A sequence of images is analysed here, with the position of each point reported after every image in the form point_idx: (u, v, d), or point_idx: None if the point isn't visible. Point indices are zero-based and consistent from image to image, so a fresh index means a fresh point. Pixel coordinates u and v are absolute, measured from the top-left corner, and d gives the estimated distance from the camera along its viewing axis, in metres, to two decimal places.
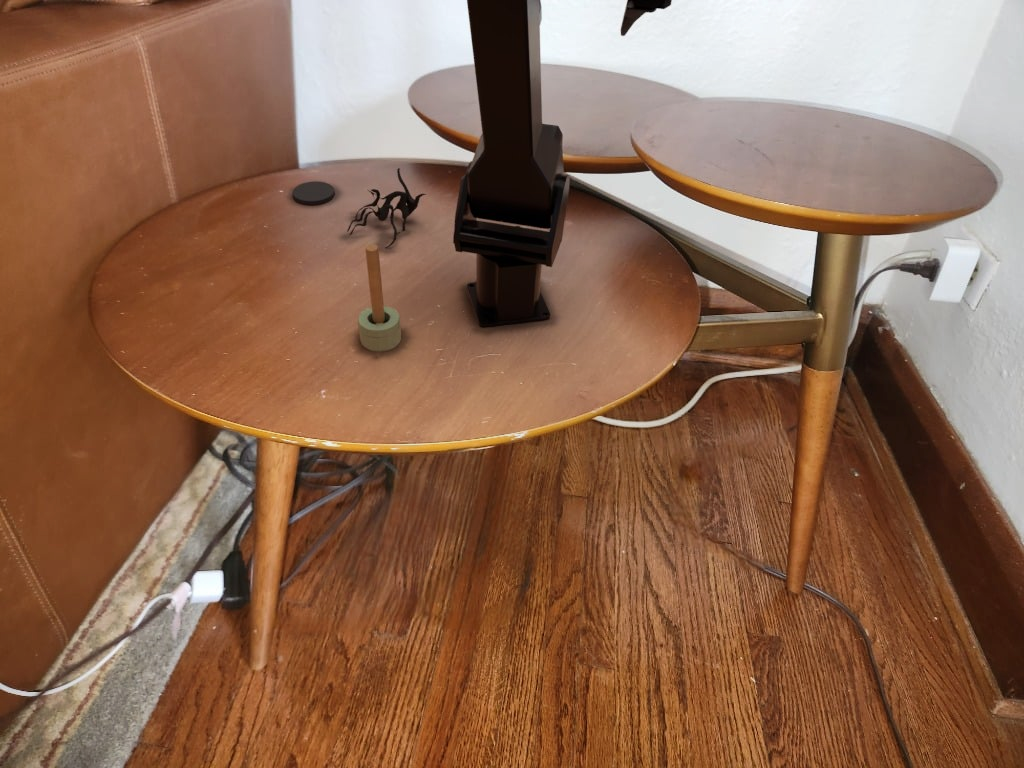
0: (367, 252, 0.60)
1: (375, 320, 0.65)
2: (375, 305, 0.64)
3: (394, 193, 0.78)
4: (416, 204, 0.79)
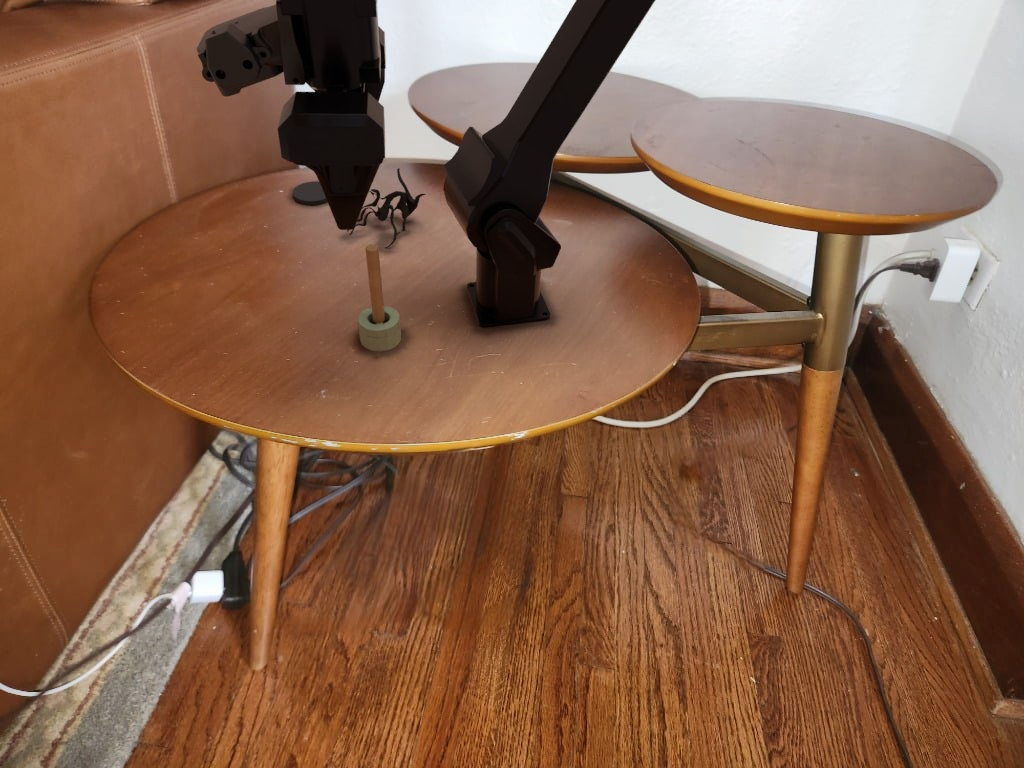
0: (367, 252, 0.60)
1: (375, 320, 0.65)
2: (375, 305, 0.64)
3: (394, 192, 0.78)
4: (416, 204, 0.79)
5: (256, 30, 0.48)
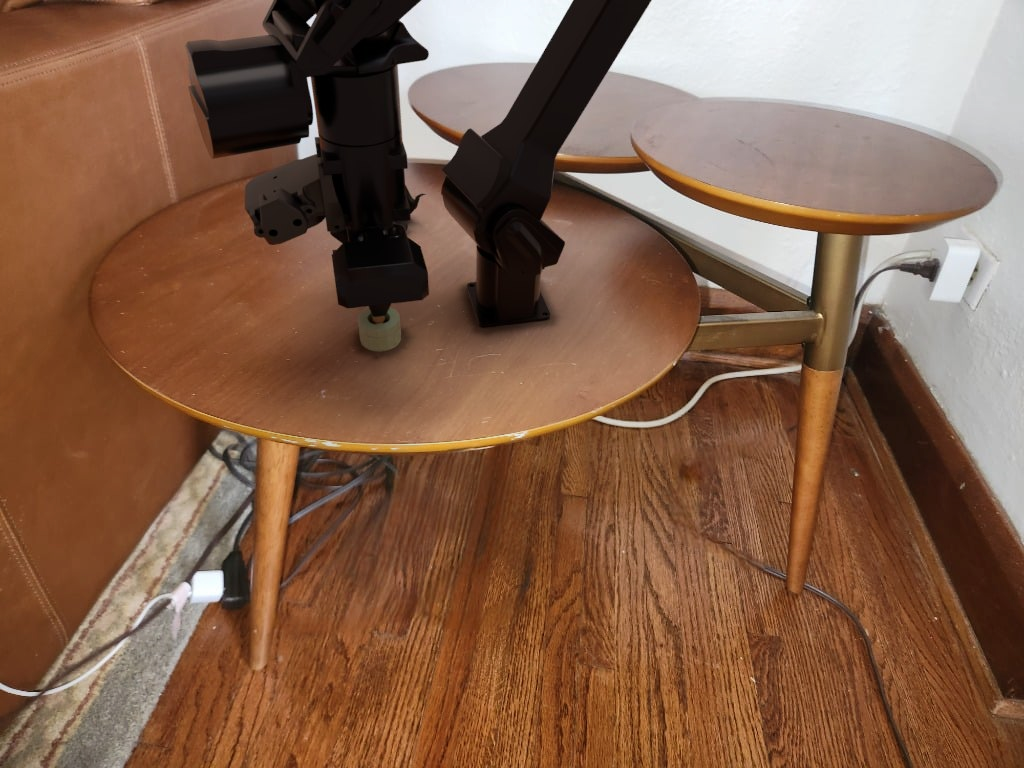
0: None
1: (375, 320, 0.65)
2: None
3: None
4: (416, 204, 0.79)
5: (301, 189, 0.53)
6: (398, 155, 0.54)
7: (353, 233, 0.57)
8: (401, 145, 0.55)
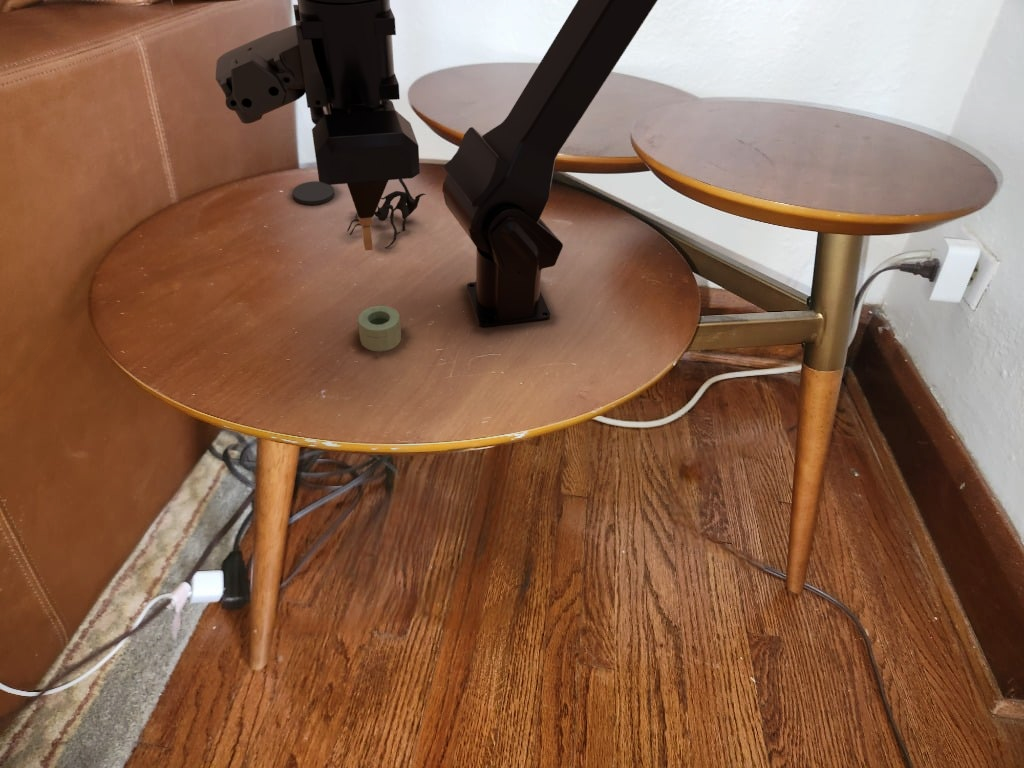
0: None
1: (362, 223, 0.59)
2: None
3: (394, 192, 0.78)
4: (416, 204, 0.79)
5: (277, 56, 0.48)
6: (385, 18, 0.48)
7: (337, 112, 0.52)
8: (388, 10, 0.49)
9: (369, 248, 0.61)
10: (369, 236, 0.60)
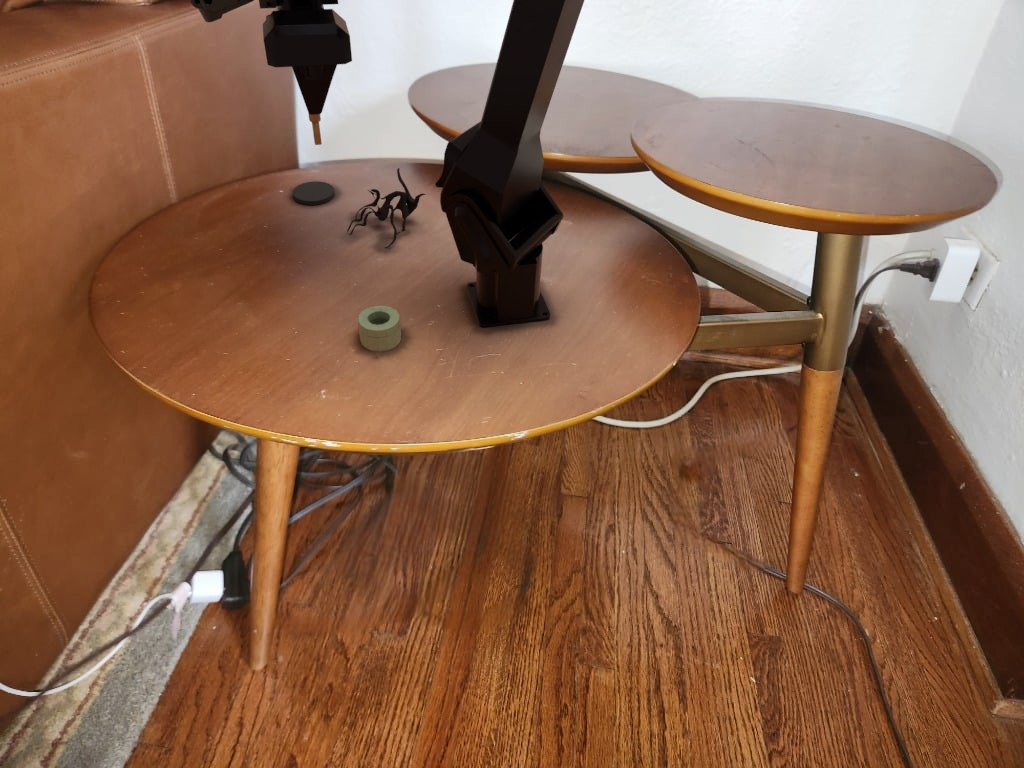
0: None
1: (311, 120, 0.70)
2: None
3: (394, 192, 0.78)
4: (416, 204, 0.79)
5: None
6: None
7: None
8: None
9: (318, 143, 0.71)
10: (318, 131, 0.70)
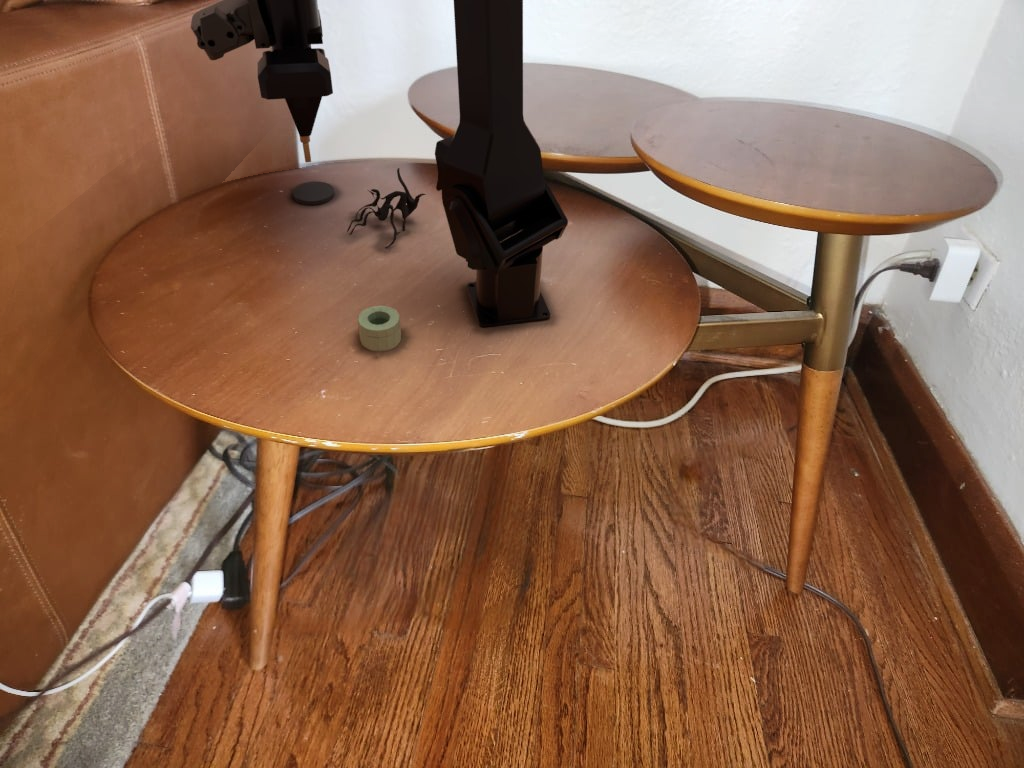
0: None
1: (302, 141, 0.80)
2: None
3: (394, 192, 0.78)
4: (416, 204, 0.79)
5: (233, 10, 0.69)
6: None
7: None
8: None
9: (308, 160, 0.81)
10: (308, 151, 0.81)
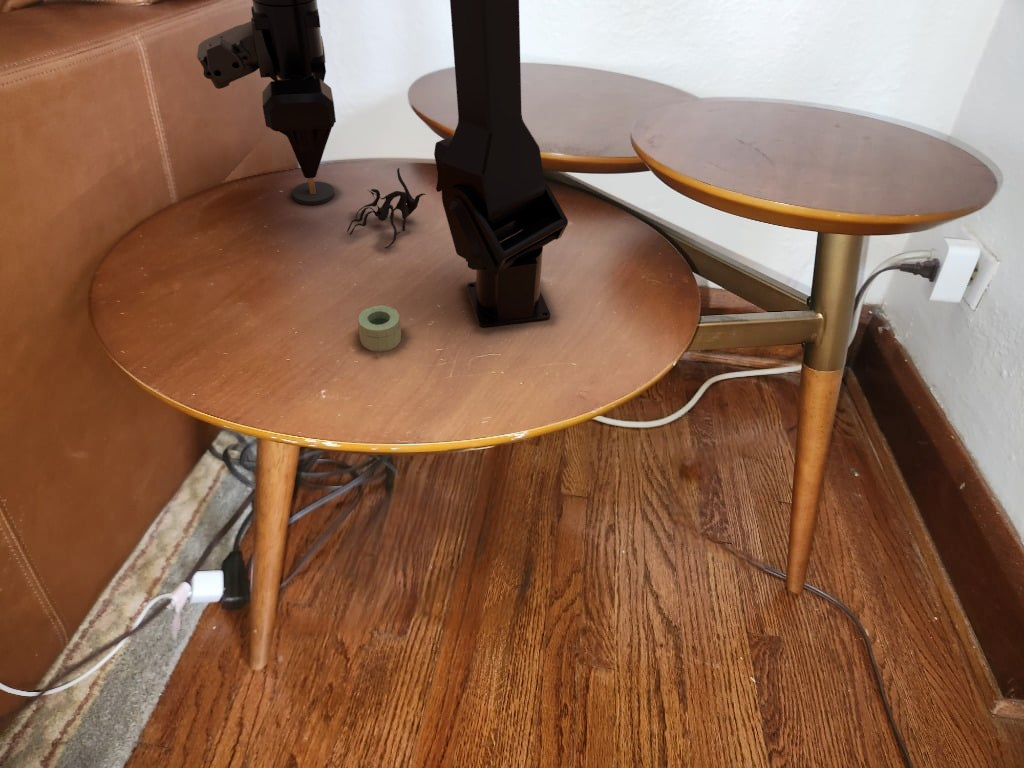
0: None
1: None
2: None
3: (394, 192, 0.78)
4: (416, 204, 0.79)
5: (239, 41, 0.71)
6: (312, 15, 0.71)
7: None
8: (316, 10, 0.72)
9: (313, 192, 0.84)
10: (312, 183, 0.83)
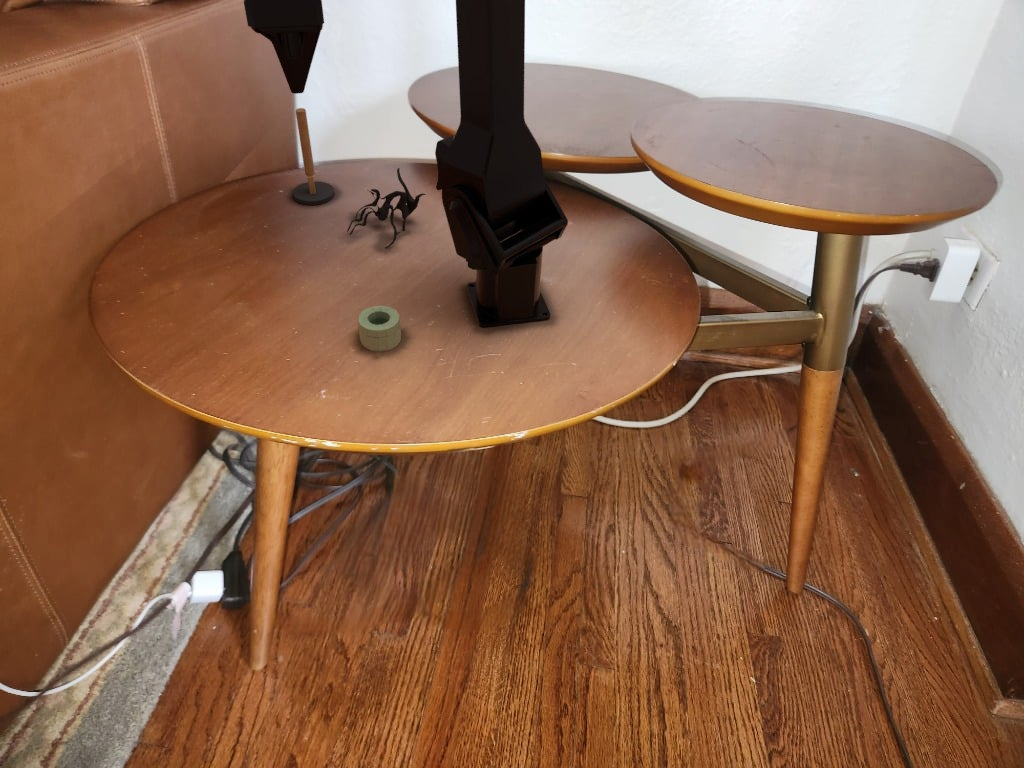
0: (297, 113, 0.78)
1: (307, 174, 0.83)
2: (306, 160, 0.82)
3: (394, 192, 0.78)
4: (416, 204, 0.79)
5: None
6: None
7: None
8: None
9: (313, 192, 0.84)
10: (312, 183, 0.83)
